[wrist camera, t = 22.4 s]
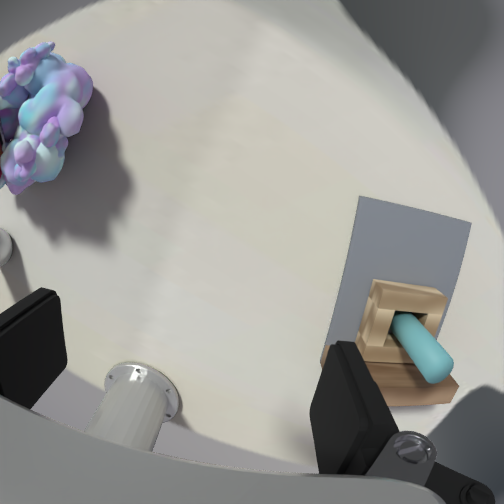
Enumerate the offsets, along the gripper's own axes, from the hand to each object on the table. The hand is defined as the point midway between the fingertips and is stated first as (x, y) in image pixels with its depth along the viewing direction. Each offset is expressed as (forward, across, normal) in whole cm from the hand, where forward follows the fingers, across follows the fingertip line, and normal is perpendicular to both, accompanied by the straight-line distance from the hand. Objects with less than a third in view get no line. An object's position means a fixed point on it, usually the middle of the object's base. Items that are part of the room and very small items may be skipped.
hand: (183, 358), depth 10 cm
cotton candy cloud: (+31, +30, -10) cm, 44 cm away
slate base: (+30, -23, +7) cm, 39 cm away
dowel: (+30, -23, +10) cm, 39 cm away
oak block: (+30, -23, +10) cm, 39 cm away
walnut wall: (+30, -23, +17) cm, 42 cm away
